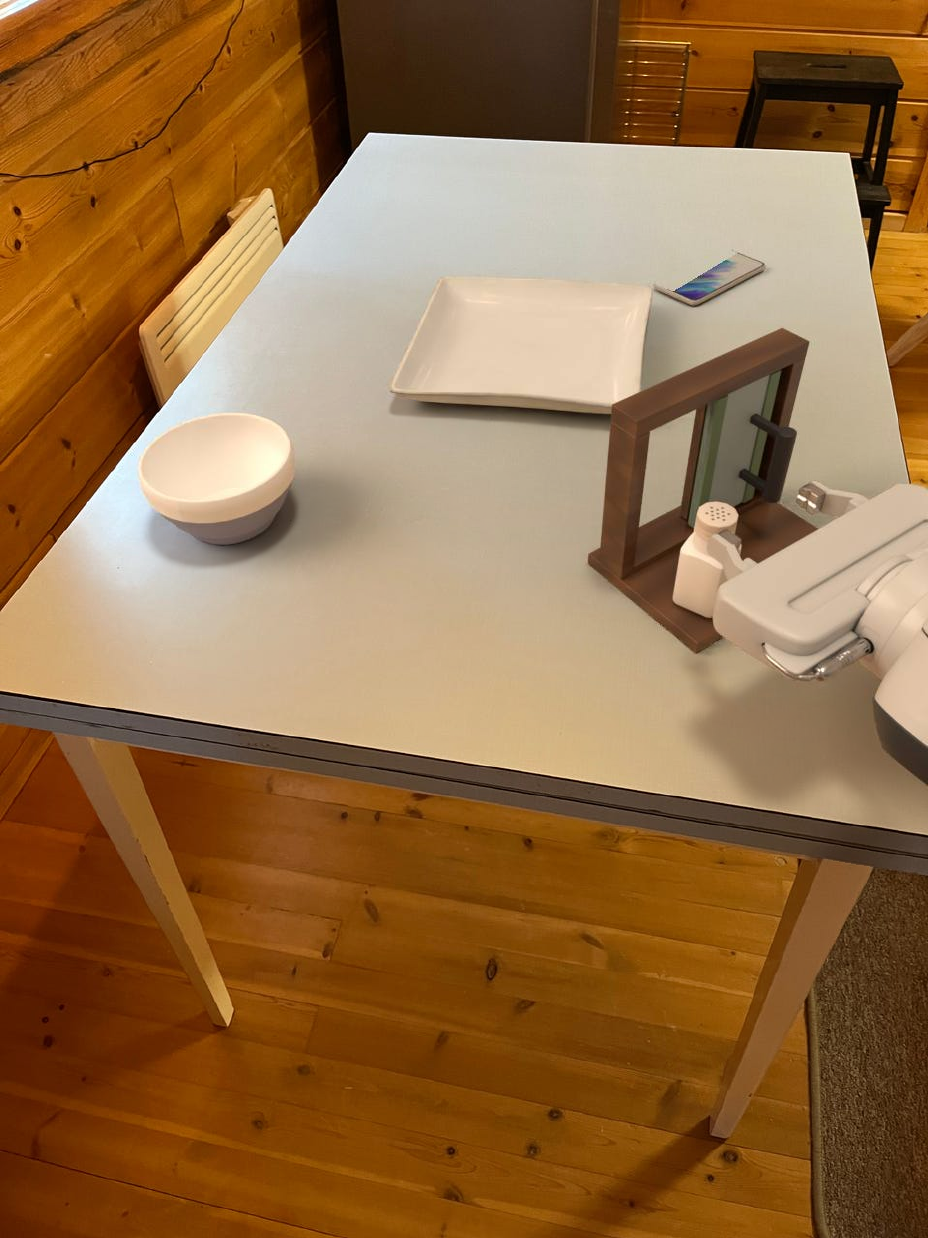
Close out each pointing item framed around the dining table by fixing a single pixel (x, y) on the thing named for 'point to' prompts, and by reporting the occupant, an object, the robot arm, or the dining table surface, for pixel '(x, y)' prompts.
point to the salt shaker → (703, 560)
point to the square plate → (527, 344)
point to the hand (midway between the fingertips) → (760, 514)
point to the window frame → (690, 481)
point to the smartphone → (716, 279)
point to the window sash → (741, 448)
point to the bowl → (219, 475)
